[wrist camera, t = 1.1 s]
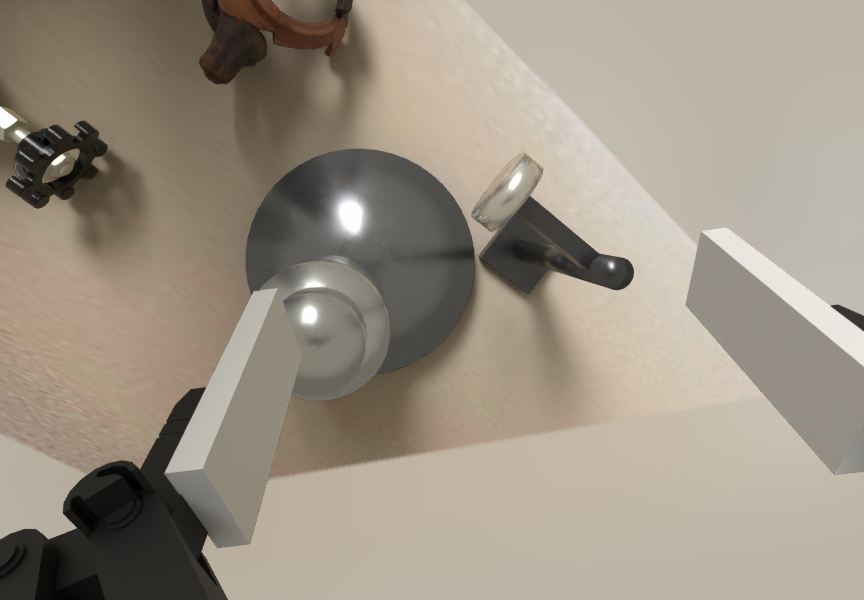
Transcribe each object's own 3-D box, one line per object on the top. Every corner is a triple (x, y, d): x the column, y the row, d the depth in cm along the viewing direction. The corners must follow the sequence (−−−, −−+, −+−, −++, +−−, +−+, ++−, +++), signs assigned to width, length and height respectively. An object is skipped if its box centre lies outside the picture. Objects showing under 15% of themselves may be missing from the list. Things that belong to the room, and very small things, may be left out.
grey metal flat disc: (208, 286, 36) (198, 290, 34) (338, 104, 35) (336, 97, 33) (386, 405, 40) (387, 415, 38) (511, 242, 39) (518, 244, 37)
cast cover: (242, 327, 35) (198, 364, 26) (313, 230, 35) (291, 235, 26) (342, 392, 37) (331, 448, 28) (411, 301, 36) (422, 328, 28)
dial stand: (433, 221, 38) (474, 225, 22) (472, 170, 37) (541, 137, 22) (524, 292, 39) (622, 343, 24) (562, 244, 39) (686, 263, 23)
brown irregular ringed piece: (223, -89, 33) (262, -165, 26) (335, 14, 38) (390, -27, 32) (141, 57, 31) (161, 14, 25) (271, 142, 37) (315, 126, 30)
